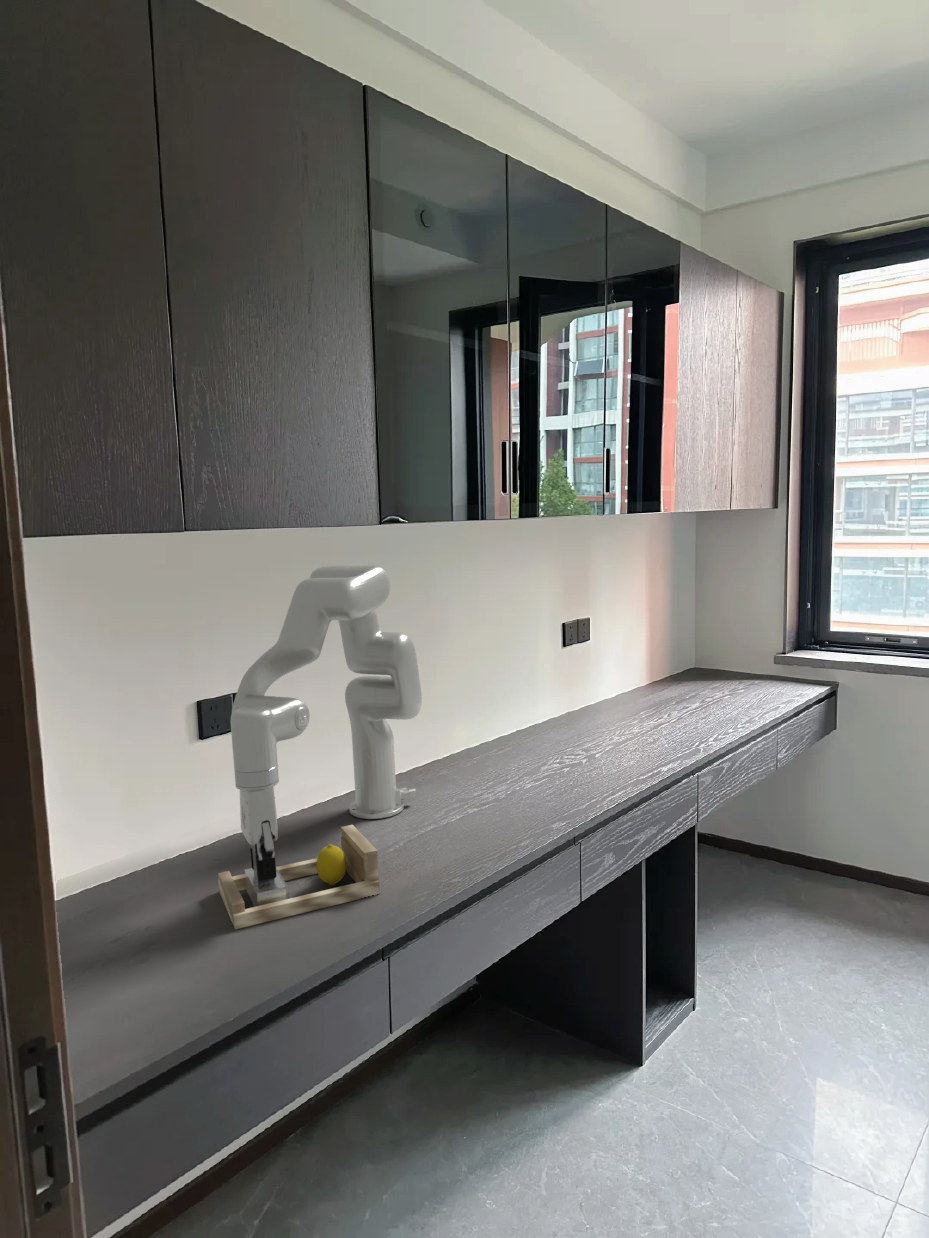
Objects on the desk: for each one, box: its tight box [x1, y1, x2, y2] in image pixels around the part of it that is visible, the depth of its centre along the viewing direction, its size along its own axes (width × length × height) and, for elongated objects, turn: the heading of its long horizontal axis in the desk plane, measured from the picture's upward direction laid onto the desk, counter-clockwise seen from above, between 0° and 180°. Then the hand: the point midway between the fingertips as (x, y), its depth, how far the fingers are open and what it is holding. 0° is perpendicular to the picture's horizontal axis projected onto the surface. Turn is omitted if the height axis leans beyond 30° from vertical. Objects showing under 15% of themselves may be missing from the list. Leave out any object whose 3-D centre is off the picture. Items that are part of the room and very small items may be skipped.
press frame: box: [217, 824, 381, 930], centre depth 155 cm, size 26×16×8 cm, turn 115°
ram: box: [244, 838, 290, 907], centre depth 152 cm, size 6×11×12 cm, turn 25°
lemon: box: [316, 843, 347, 886], centre depth 158 cm, size 6×6×8 cm
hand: (264, 872), depth 152 cm, fingers open, 4 cm apart
